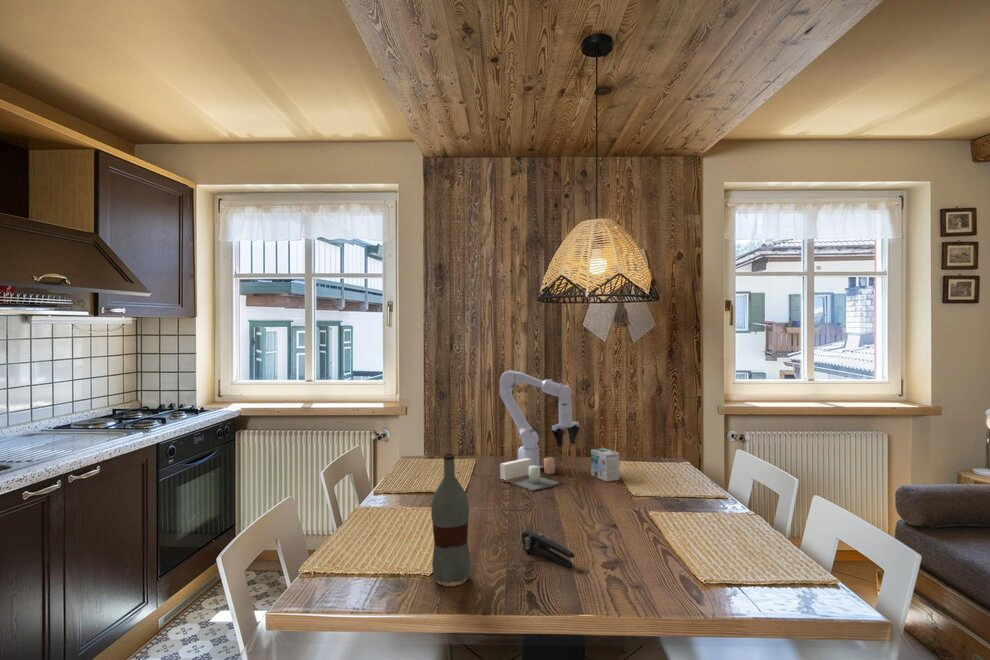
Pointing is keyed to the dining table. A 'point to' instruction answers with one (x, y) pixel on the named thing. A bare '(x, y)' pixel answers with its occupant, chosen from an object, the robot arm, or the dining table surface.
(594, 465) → the light bulb box
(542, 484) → the pad
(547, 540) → the can opener
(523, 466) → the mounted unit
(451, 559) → the bottle
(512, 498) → the dining table surface
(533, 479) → the sage part
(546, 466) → the terracotta part
